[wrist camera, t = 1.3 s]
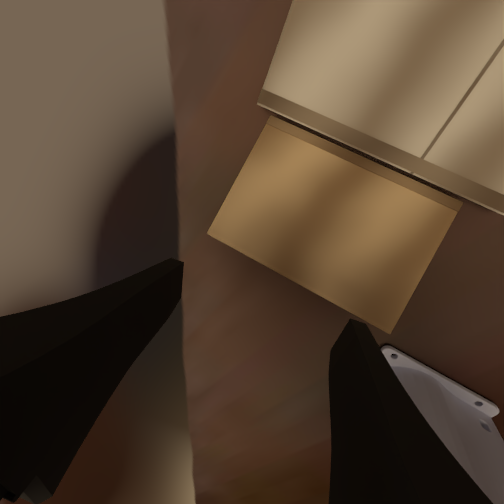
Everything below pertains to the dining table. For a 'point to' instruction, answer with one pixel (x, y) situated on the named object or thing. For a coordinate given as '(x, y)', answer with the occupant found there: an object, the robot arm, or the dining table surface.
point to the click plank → (334, 222)
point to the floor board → (401, 85)
